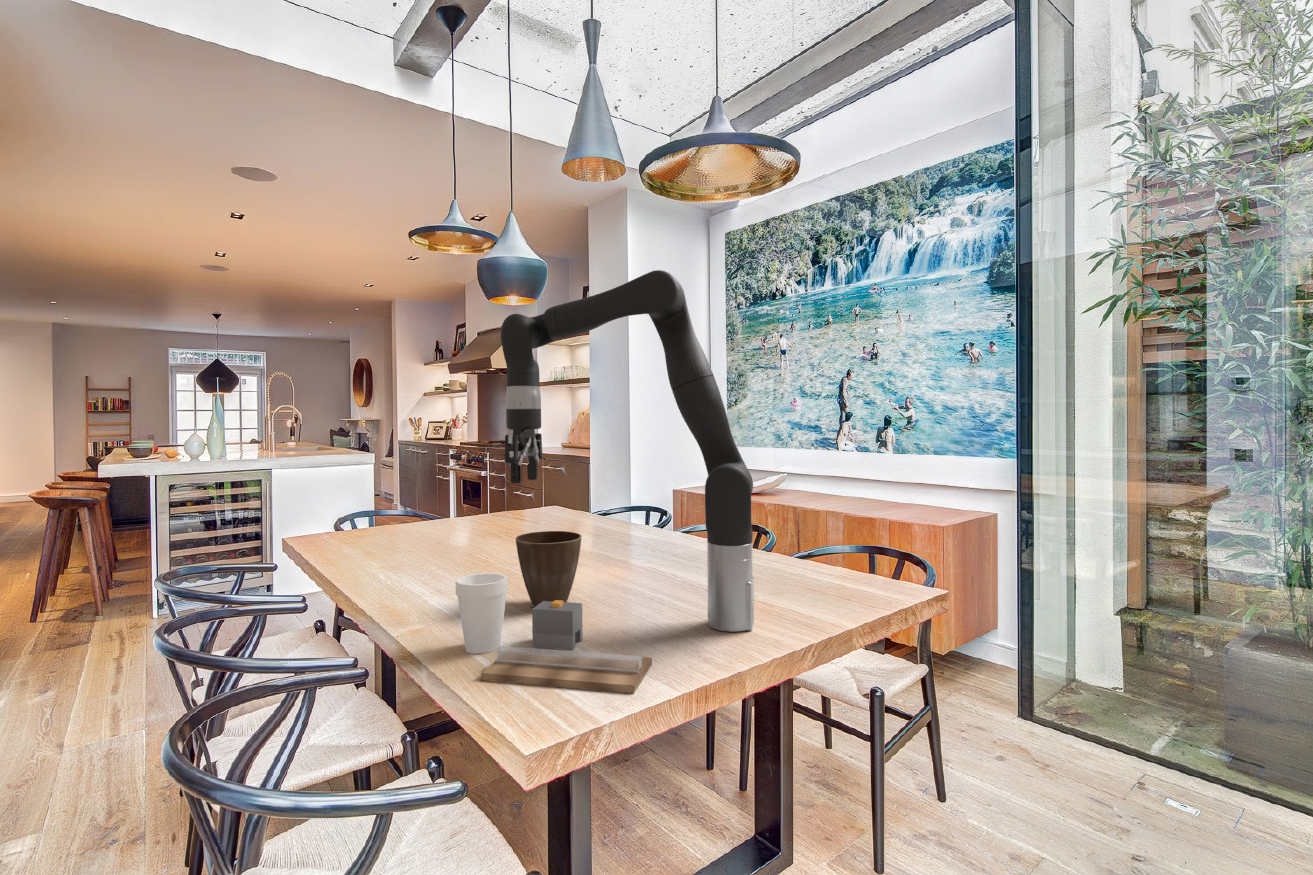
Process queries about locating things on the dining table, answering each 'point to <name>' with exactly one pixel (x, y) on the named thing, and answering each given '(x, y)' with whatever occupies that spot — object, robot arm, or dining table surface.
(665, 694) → the dining table surface
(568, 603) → the block
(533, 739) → the dining table surface
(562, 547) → the plant pot
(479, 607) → the foam cup
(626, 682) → the board
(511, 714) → the dining table surface
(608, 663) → the rail
